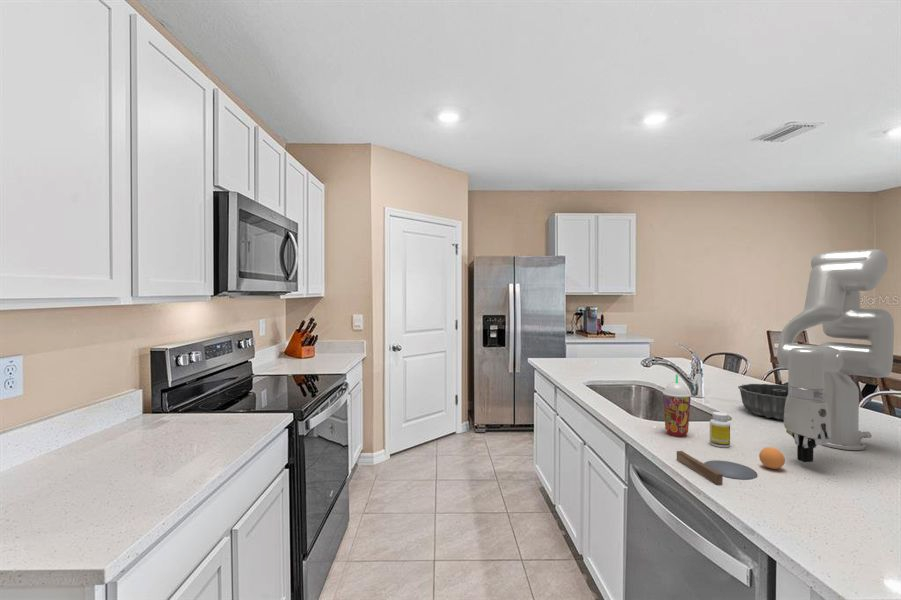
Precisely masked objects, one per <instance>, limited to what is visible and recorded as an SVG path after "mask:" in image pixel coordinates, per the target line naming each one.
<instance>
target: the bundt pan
mask: <svg viewBox="0 0 901 600" xmlns="http://www.w3.org/2000/svg"><path fill="white" fill-rule="evenodd" d="M737 388H738V389H739V393H740V397H741V402H742V404H743V407H744V408H745V409H746V410H747V411H748V412H749V413H751V414H753V413H755V414H754V415H756V416H758V417H765V418H767V419H772V418H774V419H776V420H779V421H780V420H781V421H782V420H783V421H784V409H785V402H786V398H787V396H788V385H785V384H772V383H771V384H769V383H748V384H741V385H738V386H737Z"/></svg>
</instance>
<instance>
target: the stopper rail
mask: <svg viewBox="0 0 901 600" xmlns="http://www.w3.org/2000/svg"><path fill="white" fill-rule="evenodd" d="M676 461H678V462H679V463H681V464H682V465H684V466H686V467H687V468H689V469H691V470H693V471H694V472H695V473H697V474H699V475H700V476H702V477H704V478H705V479H706V480H709V482H712V483H714V484H715V485H717V486H718V485H719V486H720V485H723V474H721V473H719V472H717V471H716V470H714V469H712V468H711V467H709V466H707V465H705V464H704V463H705V462H704V463H703V462H702V461H700V460H698V459H696V458H695V457H693V456H691V455H690V454H688V453H687V452H685V451H683V450H677V451H676Z"/></svg>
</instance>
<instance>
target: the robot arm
mask: <svg viewBox="0 0 901 600" xmlns="http://www.w3.org/2000/svg"><path fill="white" fill-rule="evenodd" d="M888 264H889V261H888V255H886V253H885V252H884V251H883V250H881V249H878V248H877V249H876V248H875V249H873V248H872V249H871V248H870V249H854V250H853V249H851V250H850V249H849V250H839V251H838V250H834V251H827V252H821V253H817V254H815V255H814V256H812V258H811V262H810V267H811V270H810V272H809V279H808V283H807V290H806V296H805V301H804V307H803V310H802V311H801V312H800V313H798V314H797V315H795V316H794V317H792V319H790V320H789V321H788V323H787V324H785V326H784V327H783V328H782V330H781V332H780V335H779V340H778V345H777V346H778V347H777V353H776V358H777V362H778V364H779V365H780V367H782V368H784V369H787V370H788V372H787V374H788V376H787V379H788V380H787V386H788V396H787V398H786V402H785V409H784V419H783V427H784V428H785V429H786V434H788V435H790V436H791V437H792V438H793V439H794V443H795V445H796V447H797V448H796V449H797V450H796V451H797V452H796V453H797V454H796V456H797V457H796V459H797V460H798V461H800V462H802V463H813V462H814V449H815V448H817V446H825V447H828V448H829V447H830V448H834V449H839V450H844V451H845V450H847V451H863V450H865V449H866V443H864V442H863V441H862V440H863V439H870V438H872V436H873V434H872V433H871V432H870V431H861V430H859V428H860V427H859V422H860V421H859V420H860V419H859V417H860V416H859V414H860V412H859V410H860V409H859V407H860V406H859V405H860V403H859V402H860V400H859V398H860V391H859V388H858V385H857V384H856V383H855V381H854V380H853V379H852V378H851V377H850V376H860V377H869V378H878V379H879V378H886V377H888V376H890V375H891V373H892V371H893V366H894V365H893V363H894V362H893V361H894V340H895V323H894V318H893V316H892V314H891V313H890V312H889V311H888V310H885V309H883V308H861V292H869V291H872V290H874V289H875V288H876V287H877V286H878V284H879V283H880V281H881V279H882V278H883V276H884V275H885V274H886V272H887V269H888ZM819 325H822V332H823V333H824V335H826V336H828V337H830V338H835V339H845V340H848V339H849V340H859V341H860V340H861V341H862V340H864V341H869V342H870V343H871V344H864V343H851V342H849V343H848V342H837V341H836V342H835V341H832V342H831V341H830V342H829V341H828V342H823V343H819V344H818V345H814V344H800V343H795V340H796V338H797V337H798V335H800V334H801V333H802V332H804V331H807V330H808V329H810V328H813V327H816V326H819ZM849 375H850V376H849Z"/></svg>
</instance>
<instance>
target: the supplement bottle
mask: <svg viewBox="0 0 901 600" xmlns="http://www.w3.org/2000/svg"><path fill="white" fill-rule="evenodd" d="M728 418H729V417H728V413H726V412H720V411H713V412H712V418H711V419H710V420H709V444H710V445H712V446H714V447H716V448H717V447H719V448H729V447H730V446H731V423H730V421H729V420H728Z"/></svg>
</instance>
